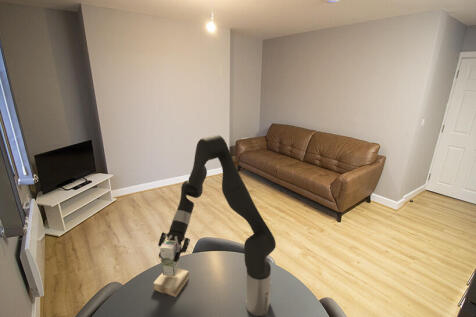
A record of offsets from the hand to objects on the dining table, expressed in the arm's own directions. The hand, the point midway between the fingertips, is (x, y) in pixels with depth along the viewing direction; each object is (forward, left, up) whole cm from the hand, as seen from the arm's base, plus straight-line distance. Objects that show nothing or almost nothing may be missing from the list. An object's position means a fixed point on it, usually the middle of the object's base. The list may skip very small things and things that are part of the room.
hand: (167, 259), depth 99 cm
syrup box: (0, -2, -8) cm, 8 cm away
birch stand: (0, -1, -14) cm, 14 cm away
